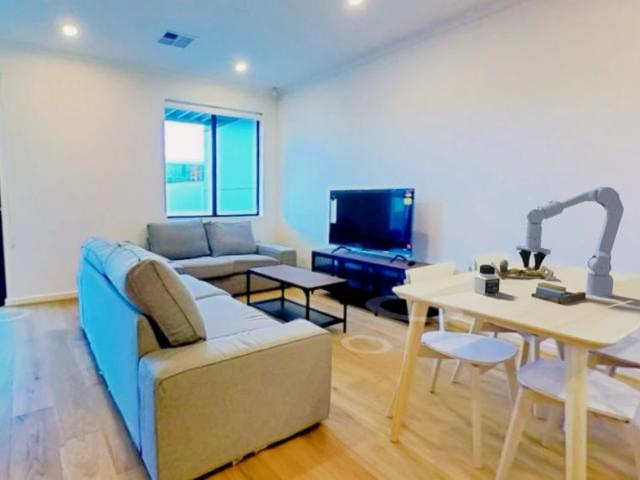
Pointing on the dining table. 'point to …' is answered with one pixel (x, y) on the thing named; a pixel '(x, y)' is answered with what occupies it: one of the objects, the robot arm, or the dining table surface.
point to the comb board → (564, 299)
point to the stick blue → (549, 292)
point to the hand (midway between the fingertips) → (531, 268)
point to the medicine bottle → (486, 281)
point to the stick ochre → (552, 286)
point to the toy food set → (523, 272)
